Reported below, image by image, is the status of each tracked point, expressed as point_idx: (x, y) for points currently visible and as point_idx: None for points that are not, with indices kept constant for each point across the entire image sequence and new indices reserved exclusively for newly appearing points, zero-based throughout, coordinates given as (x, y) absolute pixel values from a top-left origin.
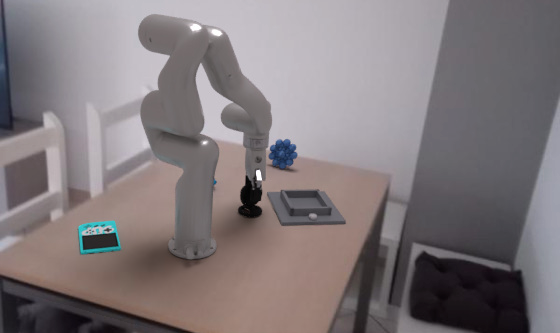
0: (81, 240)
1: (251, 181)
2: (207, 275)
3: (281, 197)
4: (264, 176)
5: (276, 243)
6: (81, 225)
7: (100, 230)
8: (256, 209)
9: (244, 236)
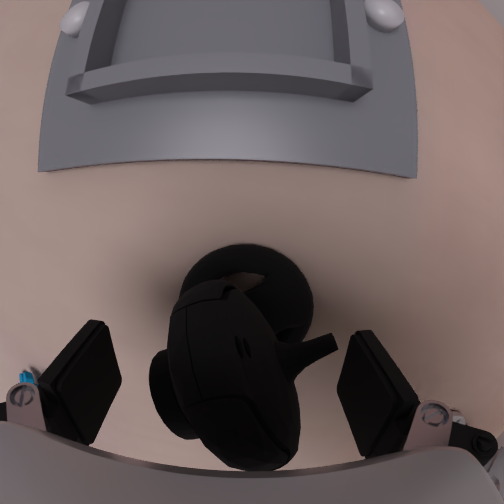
0: None
1: (93, 379)
2: (496, 404)
3: (112, 96)
4: (493, 495)
5: (497, 250)
6: None
7: None
8: (271, 291)
9: (435, 350)
